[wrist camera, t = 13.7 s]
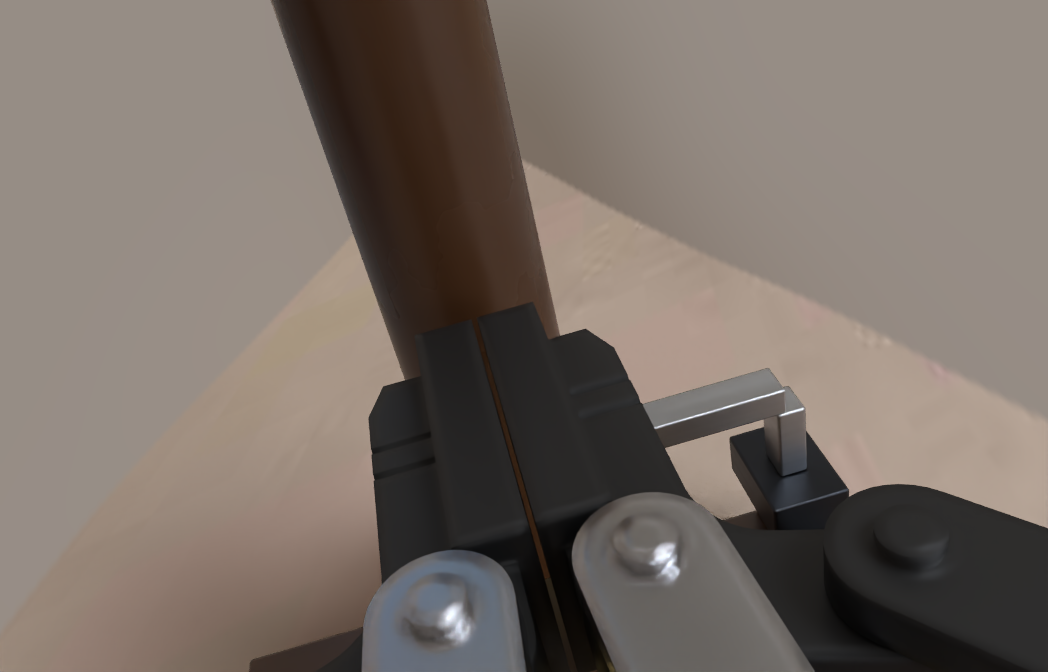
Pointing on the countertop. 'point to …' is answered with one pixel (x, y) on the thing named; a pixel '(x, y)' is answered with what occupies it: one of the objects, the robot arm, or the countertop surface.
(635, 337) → the countertop surface
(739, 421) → the wooden handled slicer
